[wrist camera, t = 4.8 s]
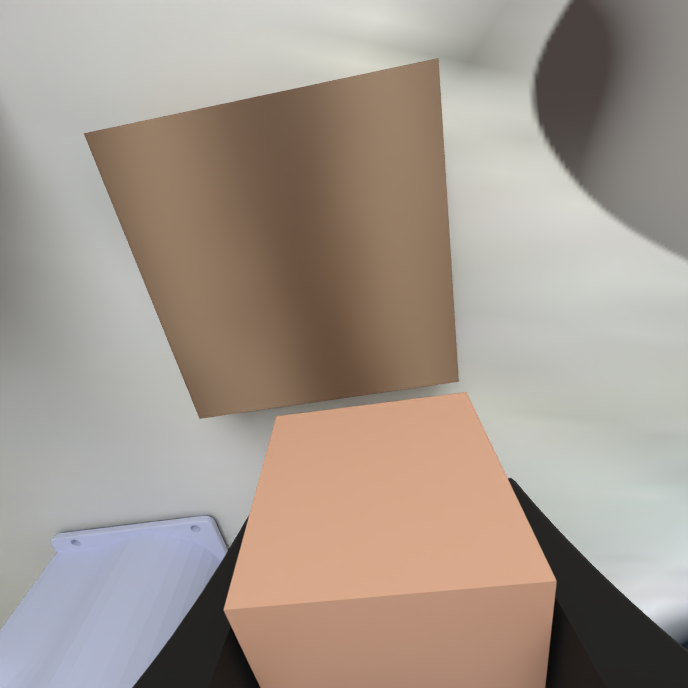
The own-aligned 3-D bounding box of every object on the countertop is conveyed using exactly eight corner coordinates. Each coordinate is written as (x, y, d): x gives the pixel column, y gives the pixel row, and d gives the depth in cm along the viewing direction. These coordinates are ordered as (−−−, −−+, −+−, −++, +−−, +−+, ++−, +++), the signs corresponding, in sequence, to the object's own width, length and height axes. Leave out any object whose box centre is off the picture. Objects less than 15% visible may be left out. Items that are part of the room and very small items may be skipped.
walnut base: (221, 379, 18) (199, 418, 16) (134, 136, 14) (83, 133, 11) (441, 345, 18) (458, 381, 15) (419, 76, 13) (438, 58, 11)
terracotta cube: (312, 542, 13) (292, 755, 8) (276, 416, 11) (223, 609, 6) (470, 527, 12) (539, 741, 8) (466, 392, 10) (556, 580, 6)
